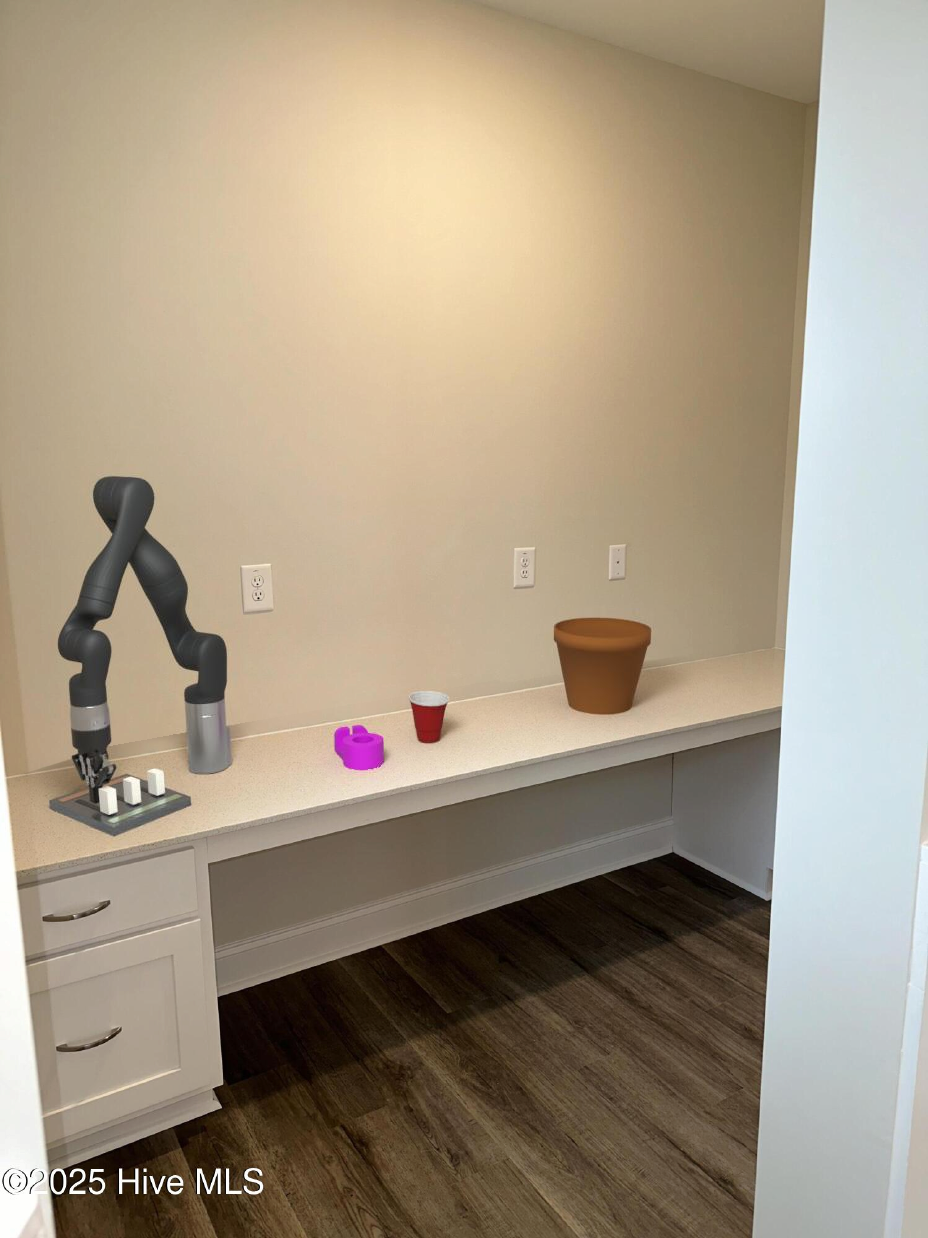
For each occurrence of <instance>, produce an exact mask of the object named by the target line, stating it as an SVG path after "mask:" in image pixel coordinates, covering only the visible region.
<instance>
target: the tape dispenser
mask: <svg viewBox="0 0 928 1238" xmlns="http://www.w3.org/2000/svg"><path fill="white" fill-rule="evenodd" d="M351 729H352V731H351ZM333 739H334V742H333V743H334V752H335V753H336V754H337V756H338V757H339V758H340V759H341V760H342V763H343V766H344V767H345V768H347V769H349V770H352V769H354V770H353V771H369V770H368V769H371V770H375V769H374V768H376V769H378V768H380V767H382V766H383V765H384V764H385V757H384V756H385V753H384V751H385V750H384V749H385V748H384V747H385V746H384V744H385V743H384V741H385V740H384V737H383V736H382V735H380V734H377V733H374V732H373V733H371V732H369V730H368V729H367V728H366V727H365V726H364V725H363V724H356V725H351V728H350V727H349V726H347V725H346V726H341V727H338V728H337V729H336V730H335V731H334V734H333ZM383 763H384V764H383ZM382 764H383V765H382ZM381 765H382V766H381ZM379 766H380V767H379ZM377 767H378V768H377Z"/></svg>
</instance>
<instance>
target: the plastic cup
mask: <svg viewBox="0 0 928 1238" xmlns="http://www.w3.org/2000/svg"><path fill="white" fill-rule="evenodd" d="M408 701H409V702H410V706H411V707H410V708H411V710H412V711H411V712H412V716H413V717H412V718H413V722H414V724H413V725H414V728H415V733H416V738H417V740H418V741H419V743H424V744H434V743H437V742H439V741H440V738H441V734H442V728H443V724H444V719H445V713H446V708H447V705H448V703H449V702H450V696H449V695H448V694H446V693H444V692H439V691H437V690H436V691H435V690H418V691H413V692H411V693H410V694H409V695H408Z"/></svg>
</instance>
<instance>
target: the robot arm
mask: <svg viewBox="0 0 928 1238" xmlns="http://www.w3.org/2000/svg"><path fill="white" fill-rule="evenodd" d="M92 498H93V500H92V501H93V504H94V507H95V509H96V511H97V514H98V516H100V518H101V520H102V521H103V523H104V524H105V526H106V527H107V528H108V530H109V531H110V533H111V536H110V538H109V540H108V541H107V543H106V544H105V546H104V547H103V549H102V550H101V551H100V552H99V553H98V555H97V556H96V557H95V559H94V560H93V561H92V563H91V564H90V566H89V567H88V569H87V571H86V574H85V576H84V579H83V582H82V584H81V589H80V592H79V595H78V599H77V603H76V605H75V606H74V608H73V609H72V611H71V612H70V614H69V616H68V617H67V618H66V619H67V620H66V621H65V622H64V624H63V626H62V627H61V630H60V632H59V635H58V639H57V650H58V652H59V655H60V657H61V658H63V659H64V660H66V661H70V662H72V663H73V662H74V663H79V664H81V671H80V672H79V673H76V674H74V675H72V676H71V677H70V678H69V681H68V692H69V704H70V705H69V706H70V708H69V709H70V710H69V720H70V731H71V743H72V747H73V748H74V749H75V750H77V753H75V754H72V755H71V760H72V762H73V765H74V767H75V769H76V770H77V774H79V777H80V779H81V780H82V781H85V783H86V786H87V787H89V795H90V801H91V802H93V803H95V804H96V803H99V802H100V800H99V788H102V787H103V785H104V784H107V783H109V782H110V780H111V779H112V778H113V775H114V774H115V772H116V770H117V765H116V764H115V763H113V764H111V763H110V762H109V757H110V756H109V753H108V749H107V748H108V746H109V745H110V744H111V743H112V730H111V718H110V717H111V716H110V709H109V704H108V694H107V683H106V682H107V679H108V678H107V677H108V674H109V667H110V663H111V658H112V651H113V650H112V644H111V643H112V642H111V641H110V638H109V636H108V635H107V634H106V633H105V632H103V631H101V630H97V629H95V627H96V625H97V624H98V622H99V621H103V620H108V619H110V618H111V616H112V615H113V612H114V610H115V605H116V602H117V600H118V599H117V598H118V595H119V591H120V587H121V584H122V582H123V581H122V580H123V579H124V578H123V577H124V574H125V572H126V569H127V567H128V565H130V566H131V568H132V570H133V572H134V575H135V577H136V578H137V581H138V583H139V585H140V587H141V589H142V591H143V592H144V595H145V597H146V598H147V599H148V602H149V603H150V605H151V607H152V610H153V611H154V613H155V615H156V617H157V619H158V621H159V623H160V625H161V628H162V629H163V633H164V635H165V637H166V641H167V643H168V645H169V648H170V650H171V653H172V656H173V659H175V661H176V663H177V665H179V667H180V668H183V669H185V670H188V671H194V672H198V675H197V682H196V683H193V684H190V685H188V686H186V687H185V688H184V690H183V691H184V693H183V698H184V709H185V726H186V742H187V743H186V744H187V759H188V770H189V772H191V773H193V774H201V775H203V774H205V775H207V774H208V775H209V774H215V773H218V772H221V771H224V770H226V769H227V768H228V767H229V766H231V765H232V764H233V763H232V760H233V759H232V746H231V730H230V729H231V728H230V727H229V726H228V725H227V714H226V699H225V694H226V693H225V692H226V688H227V683H228V650H227V646H226V643H225V640H224V638H223V637H221V635H219V634H216V633H212V632H211V633H209V632H202V631H198V630H196V629H195V628H194V626H193V624H192V623H191V621H190V619H189V617H188V615H187V611H186V610H187V609H186V605H187V600H188V594H189V587H188V582H187V579H186V578H185V575H184V573H183V571H182V568H181V567H180V565H179V563H178V561H177V560H176V559H177V558H176V557H174V556H173V554H172V553H171V552H170V550H168V549H167V548H166V547H165V546H164V545H163V544H162V543H161V542H159V541H158V540H157V539H156V537H154V536H153V535H152V534H151V533H150V532H149V531H148V530H147V528H146V526H147V523H148V521H149V519H150V517H151V515H152V512H153V509H154V505H155V492H154V489H153V487H152V485H151V484H150V482H149V481H147V480H146V479H143V478H141V477H133V476H121V475H120V476H117V475H116V476H115V475H109V476H104V477H102V478H100V479H98V480H97V482H95V484H94V486H93V490H92Z"/></svg>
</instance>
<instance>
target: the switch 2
mask: <svg viewBox="0 0 928 1238" xmlns="http://www.w3.org/2000/svg"><path fill="white" fill-rule="evenodd" d="M146 773H147V774H146V776H147V781H148V791H149V793H151V794H154V795H157V796H158V795H160V794H163V793H165V788H166V787H165V776H164V775H165V774H164V770H161V769H158V768H152V769H149V770H147V771H146Z"/></svg>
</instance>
